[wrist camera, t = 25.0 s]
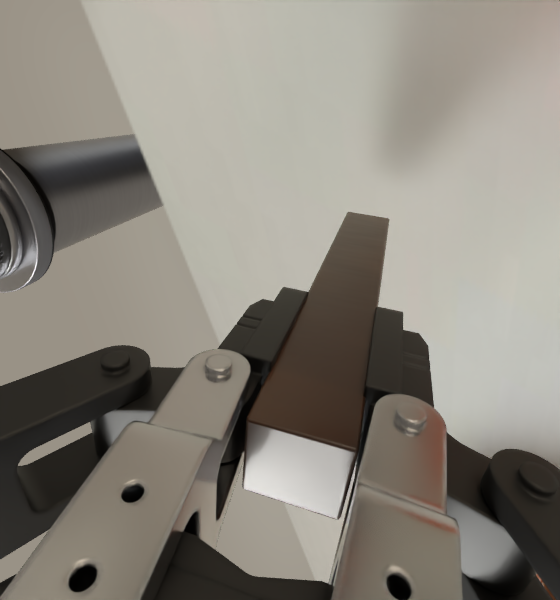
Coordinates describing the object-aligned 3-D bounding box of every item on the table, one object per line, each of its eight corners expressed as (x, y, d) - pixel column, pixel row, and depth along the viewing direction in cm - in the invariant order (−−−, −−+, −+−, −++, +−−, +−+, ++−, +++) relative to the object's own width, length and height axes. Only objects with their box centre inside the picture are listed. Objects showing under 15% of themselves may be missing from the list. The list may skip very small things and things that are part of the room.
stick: (340, 249, 20) (240, 489, 8) (347, 211, 19) (245, 418, 7) (380, 257, 19) (339, 522, 7) (389, 218, 18) (359, 451, 6)
